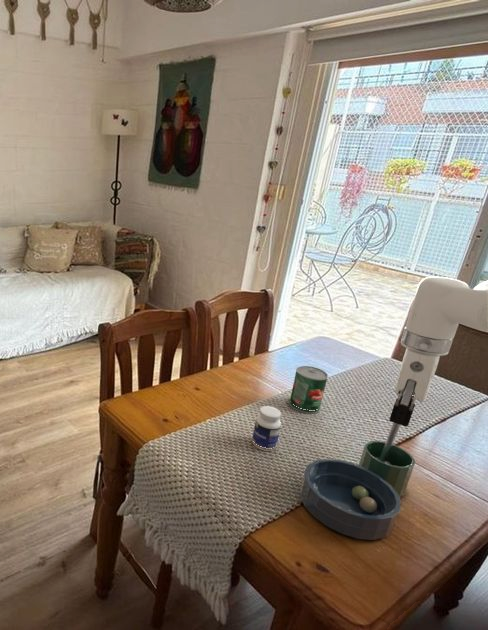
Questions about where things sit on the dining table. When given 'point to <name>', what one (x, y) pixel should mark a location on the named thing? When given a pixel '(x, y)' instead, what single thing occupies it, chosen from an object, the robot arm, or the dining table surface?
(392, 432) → the black-handled disc rod
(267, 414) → the pill bottle
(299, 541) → the dining table surface
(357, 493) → the ball
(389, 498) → the bowl
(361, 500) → the ball
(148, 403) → the dining table surface
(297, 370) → the canned tomato
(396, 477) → the cup
